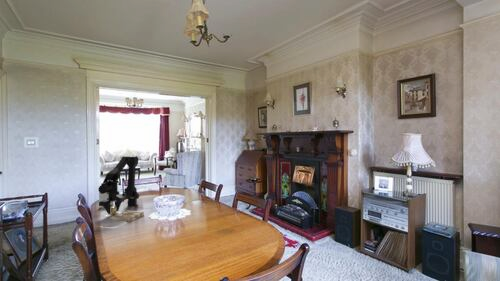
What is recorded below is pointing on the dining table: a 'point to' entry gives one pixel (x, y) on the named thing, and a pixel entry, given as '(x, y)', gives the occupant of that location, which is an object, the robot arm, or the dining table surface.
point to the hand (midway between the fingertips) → (113, 212)
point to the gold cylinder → (113, 210)
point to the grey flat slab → (112, 215)
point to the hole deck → (131, 217)
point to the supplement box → (103, 198)
